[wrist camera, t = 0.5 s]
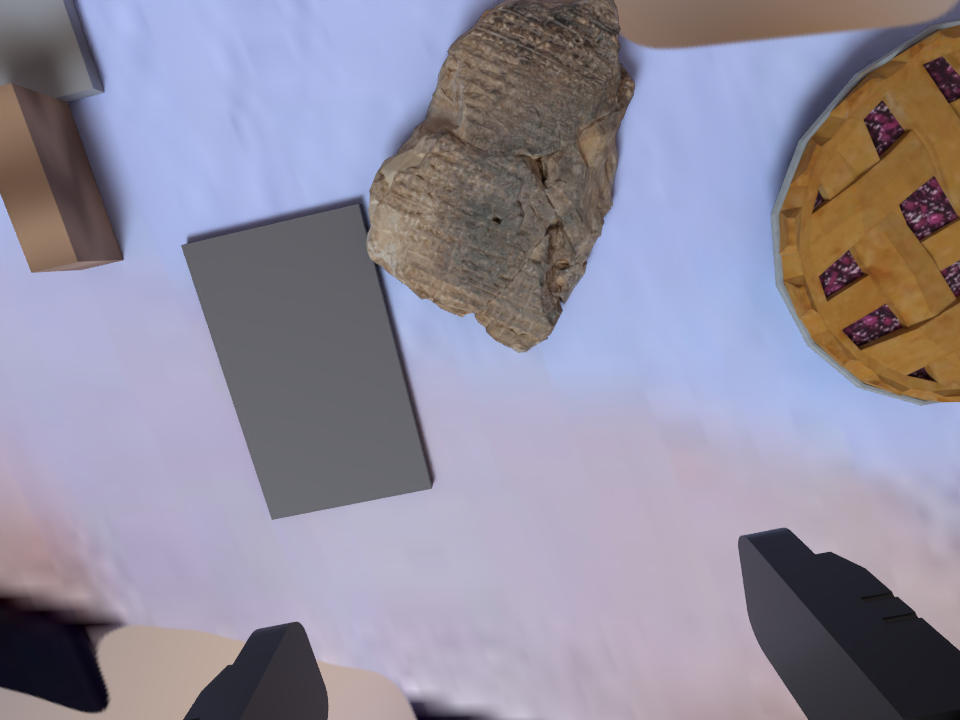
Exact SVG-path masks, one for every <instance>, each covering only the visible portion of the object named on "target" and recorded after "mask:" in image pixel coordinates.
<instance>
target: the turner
mask: <svg viewBox="0 0 960 720" xmlns="http://www.w3.org/2000/svg"><path fill="white" fill-rule="evenodd" d="M101 93H104V90H103V87H102V84H101V81H100V78H99V75H98V72H97V69H96V66H95V63H94V60H93V58H92V55H91V52H90V49H89V46H88V43H87V40H86V37H85V34H84V31H83V28H82V25H81V22H80V19H79V16H78V13H77V11H76V8H75V5H74V2H73V0H0V194H1V196H2V199H3V201H4V204H5V206H6V209H7V212H8V214H9V217H10V219H11V222H12V224H13V227H14V229H15V232H16V234H17V237H18V240H19V242H20V245H21V247H22V250H23V252H24V255H25V257H26V260H27V262H28V265H29V268H30V270H31V273H33V272H51V271H69V270H83V269H88V268H92V267H96V266H100V265H105V264H109V263H113V262H117V261H122V260H123V257H122V254H121V251H120V248H119V246H118V243H117V240H116V237H115V234H114V232H113V229H112V226H111V223H110V220H109V217H108V215H107V212H106V209H105V206H104V203H103V201H102V198H101V195H100V192H99V189H98V187H97V184H96V181H95V178H94V175H93V172H92V170H91V167H90V164H89V161H88V158H87V156H86V153H85V150H84V147H83V144H82V141H81V139H80V136H79V133H78V130H77V127H76V125H75V122H74V119H73V116H72V113H71V110H70V108H69V105H68V102H70V101H74V100H78V99H82V98H86V97H90V96H94V95H98V94H101Z"/></svg>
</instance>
